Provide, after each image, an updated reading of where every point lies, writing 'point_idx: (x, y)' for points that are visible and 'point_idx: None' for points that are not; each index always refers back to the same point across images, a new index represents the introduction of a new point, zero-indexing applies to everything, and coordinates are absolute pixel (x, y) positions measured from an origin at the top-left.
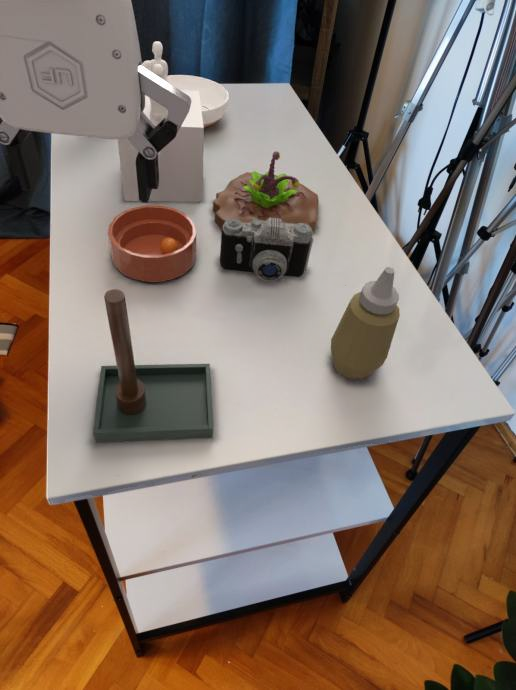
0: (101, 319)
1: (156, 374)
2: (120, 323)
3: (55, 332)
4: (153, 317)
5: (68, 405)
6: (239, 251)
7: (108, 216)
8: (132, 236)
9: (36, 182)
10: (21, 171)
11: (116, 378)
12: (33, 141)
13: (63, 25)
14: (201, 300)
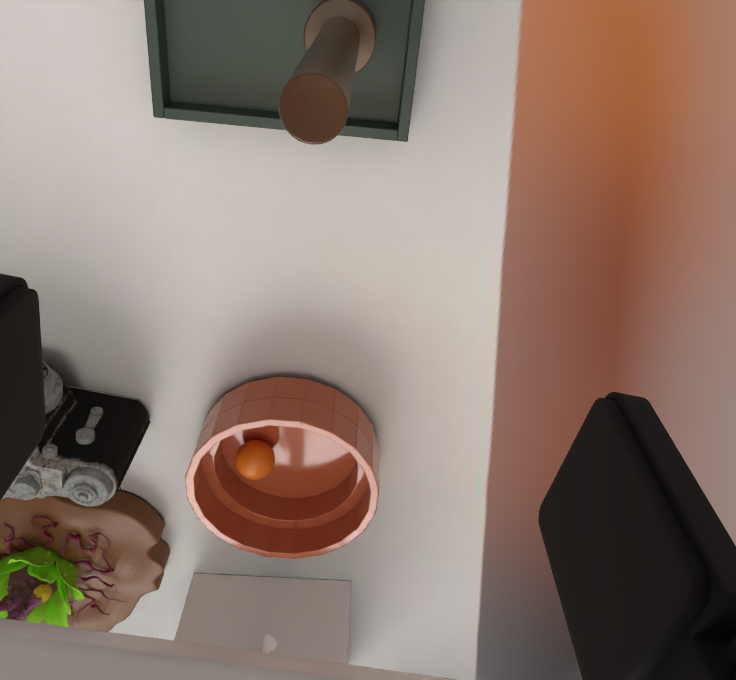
0: (405, 290)
1: None
2: (312, 57)
3: (501, 264)
4: (294, 284)
5: (485, 54)
6: (86, 428)
7: (383, 546)
8: (334, 493)
9: (570, 452)
10: (665, 468)
11: (376, 113)
12: (585, 659)
13: None
14: (188, 321)
